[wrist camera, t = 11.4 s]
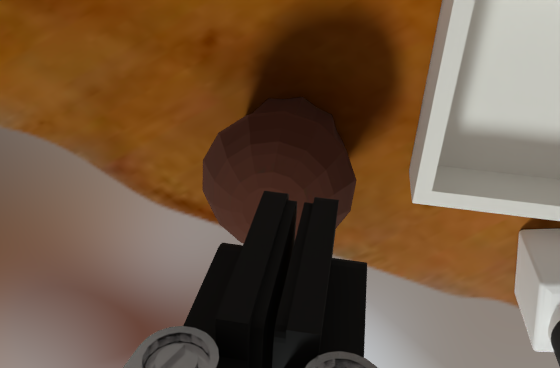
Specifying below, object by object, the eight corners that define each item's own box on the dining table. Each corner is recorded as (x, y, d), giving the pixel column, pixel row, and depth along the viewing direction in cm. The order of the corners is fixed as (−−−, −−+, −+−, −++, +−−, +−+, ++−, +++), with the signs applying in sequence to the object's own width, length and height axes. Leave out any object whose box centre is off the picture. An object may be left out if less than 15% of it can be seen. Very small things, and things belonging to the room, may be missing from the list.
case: (456, -73, 33) (467, -66, 29) (705, -58, 31) (756, -49, 27) (409, 171, 42) (412, 202, 38) (599, 192, 40) (625, 229, 36)
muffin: (267, 51, 39) (236, 98, 31) (387, 126, 41) (388, 190, 32) (203, 164, 45) (162, 228, 37) (309, 225, 47) (293, 301, 38)
